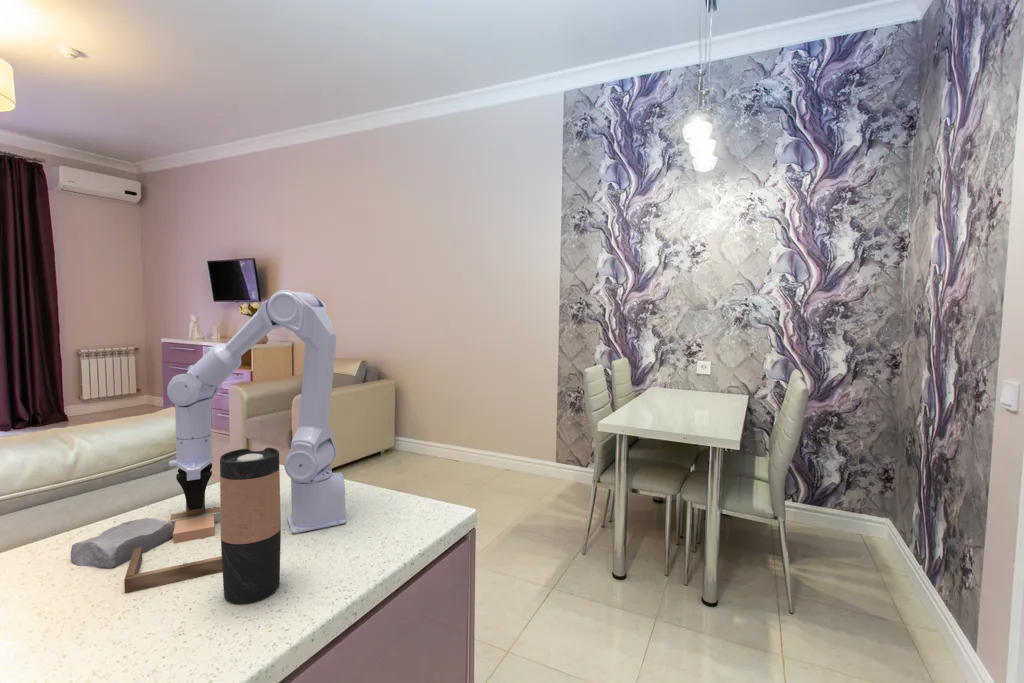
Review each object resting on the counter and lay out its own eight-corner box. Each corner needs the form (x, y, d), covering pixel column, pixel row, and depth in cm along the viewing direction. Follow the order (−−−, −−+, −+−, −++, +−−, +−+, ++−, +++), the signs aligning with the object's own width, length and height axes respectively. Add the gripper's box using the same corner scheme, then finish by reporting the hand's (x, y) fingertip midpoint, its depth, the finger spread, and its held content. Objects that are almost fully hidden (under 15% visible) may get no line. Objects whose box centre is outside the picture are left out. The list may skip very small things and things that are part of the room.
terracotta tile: (214, 524, 93) (214, 514, 93) (214, 537, 88) (214, 526, 88) (175, 531, 90) (175, 521, 90) (173, 545, 85) (173, 533, 85)
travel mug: (240, 612, 66) (238, 465, 65) (210, 594, 70) (207, 456, 69) (292, 586, 73) (291, 452, 71) (262, 570, 77) (260, 444, 76)
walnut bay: (247, 538, 87) (247, 527, 87) (251, 564, 78) (251, 552, 78) (134, 560, 79) (134, 548, 79) (124, 593, 70) (124, 579, 70)
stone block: (63, 576, 78) (114, 570, 76) (58, 546, 78) (109, 540, 76) (134, 544, 90) (180, 539, 88) (129, 518, 90) (175, 512, 88)
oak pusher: (220, 513, 98) (219, 483, 98) (220, 522, 94) (219, 491, 94) (171, 521, 94) (170, 490, 93) (169, 531, 90) (168, 498, 89)
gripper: (171, 430, 98) (173, 497, 99) (165, 447, 86) (167, 524, 86) (212, 426, 102) (214, 491, 102) (212, 442, 89) (214, 516, 90)
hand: (195, 505), depth 95 cm, fingers closed on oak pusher, 2 cm apart
